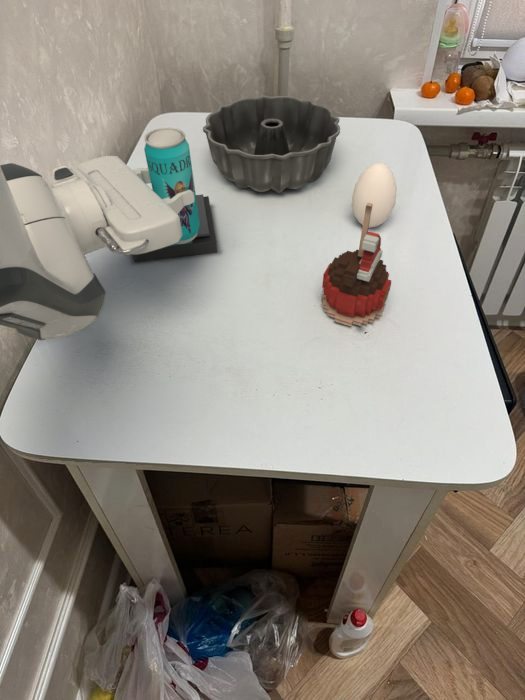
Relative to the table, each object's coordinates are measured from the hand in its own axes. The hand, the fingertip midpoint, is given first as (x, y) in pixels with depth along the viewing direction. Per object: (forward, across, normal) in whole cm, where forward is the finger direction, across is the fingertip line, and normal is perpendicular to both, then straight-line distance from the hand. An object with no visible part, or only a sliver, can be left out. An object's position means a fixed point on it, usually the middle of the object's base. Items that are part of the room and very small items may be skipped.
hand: (178, 182), depth 69 cm
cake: (+17, -20, +18) cm, 31 cm away
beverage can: (-1, 0, +8) cm, 8 cm away
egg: (+33, -6, +17) cm, 38 cm away
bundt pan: (+30, +20, +17) cm, 40 cm away
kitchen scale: (+3, +13, +17) cm, 21 cm away
